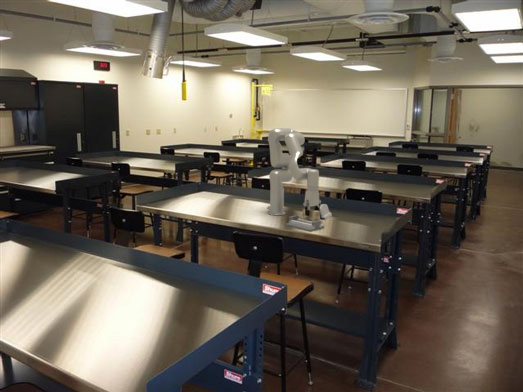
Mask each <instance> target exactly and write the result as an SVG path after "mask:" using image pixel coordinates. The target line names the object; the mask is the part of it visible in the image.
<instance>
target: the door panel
mask: <svg viewBox="0 0 523 392" xmlns="http://www.w3.org/2000/svg"><path fill="white" fill-rule="evenodd" d="M309 210H310V215H309V216H305V208H302V216H301V217H302V218H301V219H303V220H307V221H311V222H314V221H318V220H321V219H320V211H316V210H314V209H311V208H309Z"/></svg>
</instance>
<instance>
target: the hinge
mask: <svg viewBox="0 0 523 392" xmlns="http://www.w3.org/2000/svg"><path fill="white" fill-rule="evenodd" d="M319 211H320V220H322V219H324V221H326V220H328V219H329V218H330V217H333V215H332V212H330V210H329V206H328V204H326V203H322V204H320V206H319Z"/></svg>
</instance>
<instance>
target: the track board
mask: <svg viewBox="0 0 523 392" xmlns="http://www.w3.org/2000/svg"><path fill="white" fill-rule="evenodd" d="M285 226H286V227H290V228H293V229H294V228H295V229H298V230H302V231H306V232H309V233H312V232H314V231H318V230H322V229H325V226H324V225H322V219H320V220H318V221H314V222H311V221H307V220H303V219H302V218H300V217H299V215H298V214H296V215H291V216H289V217H288V223H285Z"/></svg>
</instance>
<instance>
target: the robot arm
mask: <svg viewBox="0 0 523 392" xmlns="http://www.w3.org/2000/svg"><path fill="white" fill-rule="evenodd" d="M267 140H268V145H269V156H270V159H269V160H270V165H271V167H273V168H275V169H272V170H271V171H270V173H269V174H268V175H269V184H270V190H269V191H270V192H269V193H270V195H269V199H270V200H269V201H270V202H269V205H268V206H267V207H266V210H268V211H267V215H271V216H285V215H286V212H285V210H284V206H285V205H284V202H285V199H284V198H285V189H284V184H283V183H289V182H291V181H292V180H293V179H294V180H296V181H306V191H305V195H304V202H303V203H302V205H303V209H305V216H309V215H310V210H309V209H311V207H314V209H313V210H316V211H319V206H320V205H321V203H322V200H321V199H320V193H319V185H320V183H319V181H320V171H319V170H318V169H313V168H310V167H305V168H300V167H299V165H298V159H299V158H300V157H302V156H303V155H304V151H303V148H302V146H303V145H304V143H305V140H306V139H305V136H304V134H302V133H301V132H299V131H297V130H295V129H293V128H287V127H286V128H284V127H283V128H282V127H281V128H280V127H279V128H273V129H270V131H269V133H268V137H267ZM280 141H282V142H285V146H286V148H287V150H288V153H287V152H286V153H283V147H282V144H281V142H280Z"/></svg>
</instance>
